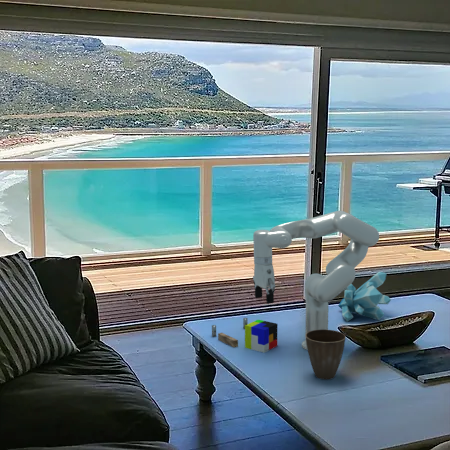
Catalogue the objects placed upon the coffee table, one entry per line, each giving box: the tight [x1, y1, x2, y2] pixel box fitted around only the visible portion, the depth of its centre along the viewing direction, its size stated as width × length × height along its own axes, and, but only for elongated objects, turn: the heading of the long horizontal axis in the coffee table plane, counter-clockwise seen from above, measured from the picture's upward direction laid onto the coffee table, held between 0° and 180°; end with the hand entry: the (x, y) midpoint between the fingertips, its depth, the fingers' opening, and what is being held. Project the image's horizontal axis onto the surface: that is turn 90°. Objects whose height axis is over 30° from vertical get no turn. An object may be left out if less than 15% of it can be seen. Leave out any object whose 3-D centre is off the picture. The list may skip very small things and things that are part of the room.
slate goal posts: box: [211, 317, 249, 338], centre depth 298 cm, size 2×20×5 cm, turn 125°
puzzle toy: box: [244, 319, 278, 353], centre depth 279 cm, size 10×10×10 cm
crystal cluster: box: [338, 271, 392, 322], centre depth 315 cm, size 22×26×21 cm
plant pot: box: [306, 329, 346, 381], centre depth 247 cm, size 15×15×16 cm
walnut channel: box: [217, 332, 239, 348], centre depth 289 cm, size 12×20×3 cm, turn 125°
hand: (264, 300), depth 272 cm, fingers open, 9 cm apart
